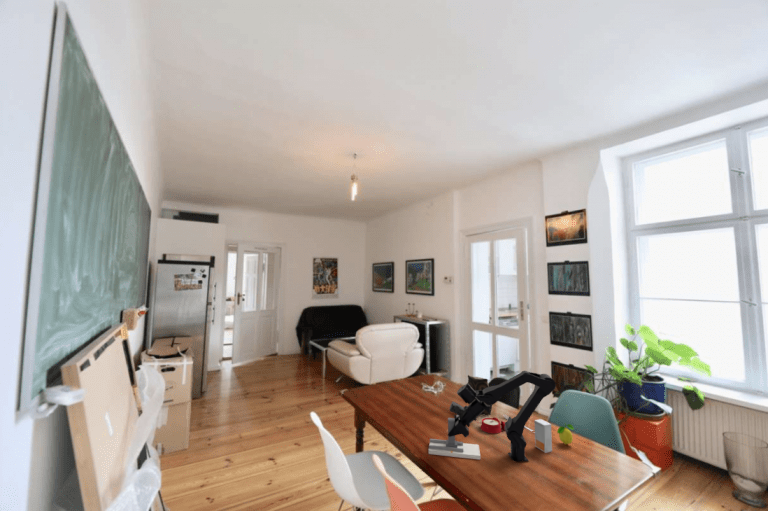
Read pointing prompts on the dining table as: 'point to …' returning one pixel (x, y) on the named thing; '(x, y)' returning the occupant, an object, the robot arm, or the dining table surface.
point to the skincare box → (543, 435)
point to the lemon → (565, 434)
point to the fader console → (454, 449)
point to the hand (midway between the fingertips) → (448, 434)
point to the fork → (524, 426)
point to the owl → (479, 388)
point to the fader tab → (451, 440)
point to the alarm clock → (492, 425)
